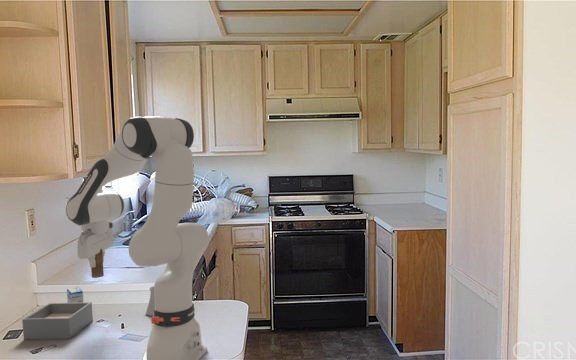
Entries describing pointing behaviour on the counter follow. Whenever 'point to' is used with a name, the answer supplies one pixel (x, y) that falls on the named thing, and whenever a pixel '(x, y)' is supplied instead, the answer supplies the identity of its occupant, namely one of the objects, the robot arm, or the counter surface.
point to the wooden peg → (98, 266)
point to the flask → (151, 303)
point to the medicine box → (74, 295)
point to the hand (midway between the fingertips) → (97, 264)
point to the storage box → (57, 321)
